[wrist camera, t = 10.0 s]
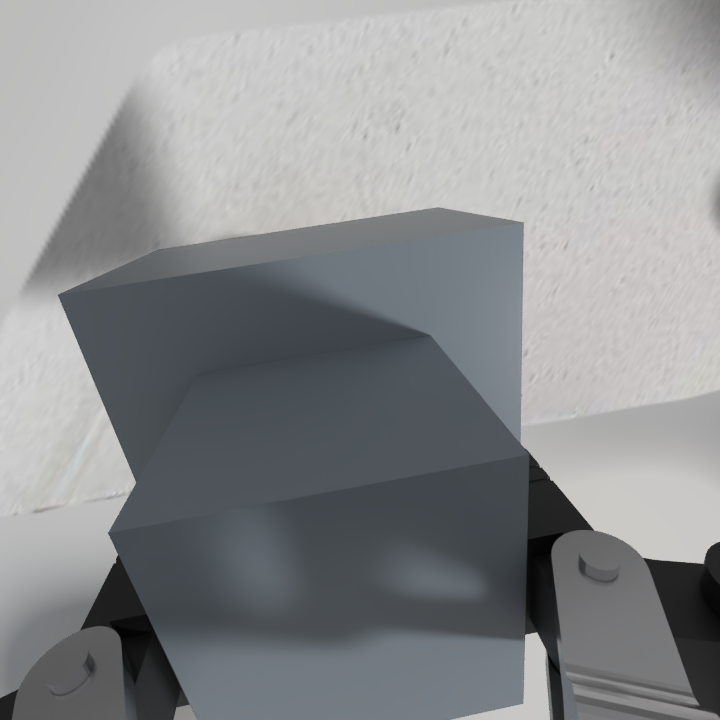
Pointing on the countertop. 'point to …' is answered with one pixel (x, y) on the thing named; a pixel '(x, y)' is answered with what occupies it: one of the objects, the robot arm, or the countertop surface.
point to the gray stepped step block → (324, 463)
